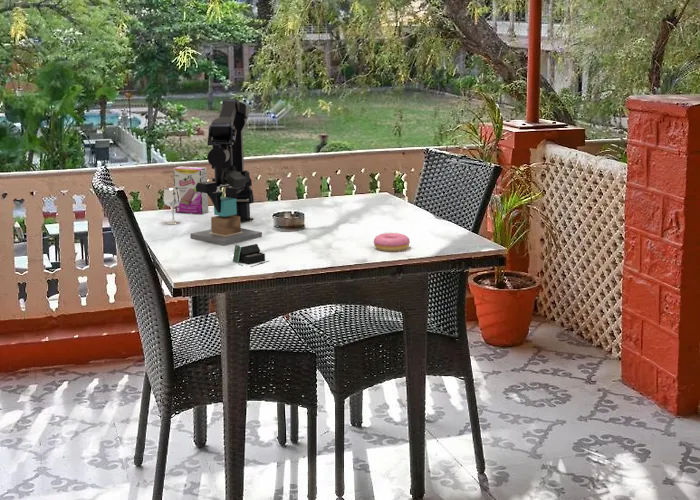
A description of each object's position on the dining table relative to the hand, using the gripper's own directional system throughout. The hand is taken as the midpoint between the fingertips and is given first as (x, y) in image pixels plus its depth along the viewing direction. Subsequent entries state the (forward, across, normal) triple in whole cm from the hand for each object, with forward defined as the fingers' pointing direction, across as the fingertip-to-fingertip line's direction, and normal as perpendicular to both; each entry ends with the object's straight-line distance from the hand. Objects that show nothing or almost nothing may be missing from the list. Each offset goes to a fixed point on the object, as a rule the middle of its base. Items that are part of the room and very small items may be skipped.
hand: (225, 211), depth 302 cm
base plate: (+8, 0, 0) cm, 8 cm away
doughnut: (+9, +23, -50) cm, 55 cm away
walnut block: (+7, 0, 0) cm, 7 cm away
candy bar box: (+9, +19, +41) cm, 46 cm away
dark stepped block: (+9, -16, -29) cm, 34 cm away
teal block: (+1, 0, 0) cm, 1 cm away
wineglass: (+9, +3, +31) cm, 32 cm away
